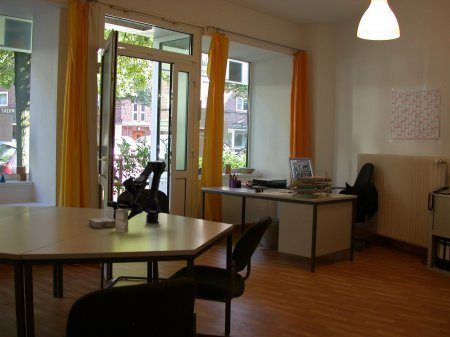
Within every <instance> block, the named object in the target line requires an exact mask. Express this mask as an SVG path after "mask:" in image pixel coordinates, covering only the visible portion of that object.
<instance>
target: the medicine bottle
mask: <svg viewBox="0 0 450 337" xmlns="http://www.w3.org/2000/svg"><path fill="white" fill-rule="evenodd" d="M112 202H116V201H115V200H111V201H110V200H109V201H106V208H105V209H104V210H103V212H104V213H103V214H104V216H103V218H110V219H112V220H115V221H116V218H115V219H114V218H113V216H114V209H113V207H112V206H111V203H112Z"/></svg>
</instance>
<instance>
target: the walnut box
mask: <svg viewBox="0 0 450 337" xmlns="http://www.w3.org/2000/svg"><path fill="white" fill-rule="evenodd" d="M88 226H90V227H92V228H94V229H96V230H97V229H107V228H116V221H115V220H112V219H110V218H104V217H101V218H89V219H88Z"/></svg>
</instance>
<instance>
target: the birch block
mask: <svg viewBox="0 0 450 337" xmlns="http://www.w3.org/2000/svg"><path fill="white" fill-rule="evenodd" d="M129 210H130V209H125V208H122V209H118V210H116V227H114V228H115V232H118V233H120V232H121V233H125V232H128V231H129V220H127V218H128V216H129V213H130V212H129Z"/></svg>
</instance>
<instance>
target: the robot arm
mask: <svg viewBox="0 0 450 337" xmlns="http://www.w3.org/2000/svg"><path fill="white" fill-rule="evenodd" d="M166 167H167V164H166V162H165V160H149V161H147V163H146V166H145V168H144V169H143V170H142V172H141V173H140V175H139V176H137V177H136V178H135V179H133V177H128V178H127V179H125V180H124V181H123V182H122V185H123V187H124V189H125V190H126V192H127V193H120V194H119V197H118V200H120V201H121V203H120V201H115V202H112V203H111V206H112V207H113V209H114V216H113V218H114V219H115V218H116V210H118V209H128V210H130V212H129V213H128V218H127V220H128V221H130V220H131V219H133V218H134V217H136V216H137V215H140V214H142V213H143V211H144V213H146V215H145V216H146V219H145V220H146V221H145V222H146V223H147V224H159V223H160V222H159V214H160V213H161V211H162V209H161V207H160V205H159V200H158V194H159V188H160V182H161V178H162V175H163V174H164V173H165V170H166ZM151 174H152V179H151V184H150V189H149V193H148V194H149V196H148V197H145V198H144V203H143V206H142V205H141V203H138V202H137V200H138V198H139V197H142V193H141V191H144V190H145V189H146V188H147V185H148V183H147V182H148V179H149V178H150V176H151Z"/></svg>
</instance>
